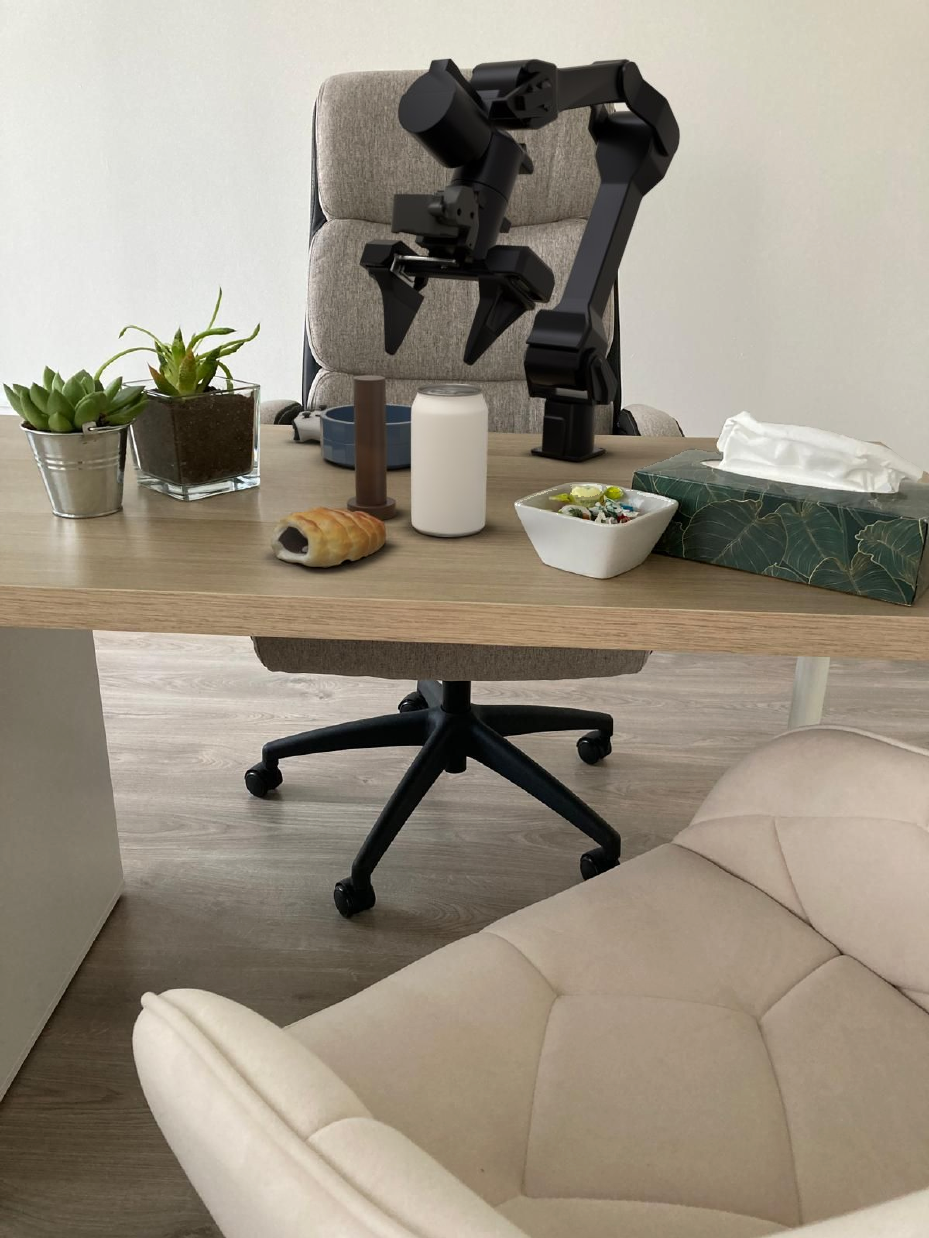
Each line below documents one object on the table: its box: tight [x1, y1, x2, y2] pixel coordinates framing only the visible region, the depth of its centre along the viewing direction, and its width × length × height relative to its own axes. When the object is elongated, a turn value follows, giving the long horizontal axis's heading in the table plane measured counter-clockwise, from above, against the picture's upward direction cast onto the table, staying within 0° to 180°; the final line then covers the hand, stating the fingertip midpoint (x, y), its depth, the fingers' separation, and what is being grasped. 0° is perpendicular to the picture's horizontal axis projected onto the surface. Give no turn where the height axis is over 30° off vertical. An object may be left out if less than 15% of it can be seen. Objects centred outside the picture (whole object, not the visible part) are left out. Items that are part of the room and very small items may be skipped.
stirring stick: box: [346, 374, 397, 521], centre depth 91 cm, size 4×4×12 cm
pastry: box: [270, 506, 387, 569], centre depth 82 cm, size 9×7×4 cm
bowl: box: [319, 403, 412, 470], centre depth 113 cm, size 12×12×5 cm
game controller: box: [291, 404, 328, 443], centre depth 123 cm, size 10×5×6 cm
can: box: [410, 382, 489, 538], centre depth 87 cm, size 6×6×12 cm
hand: (427, 358), depth 94 cm, fingers open, 9 cm apart
